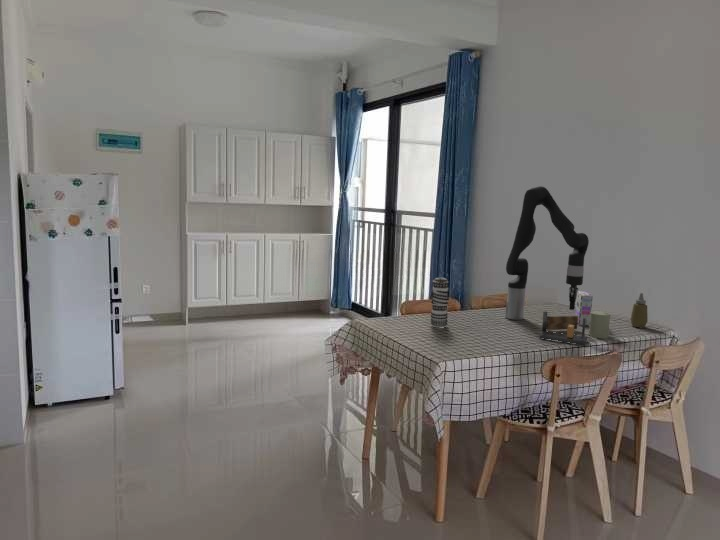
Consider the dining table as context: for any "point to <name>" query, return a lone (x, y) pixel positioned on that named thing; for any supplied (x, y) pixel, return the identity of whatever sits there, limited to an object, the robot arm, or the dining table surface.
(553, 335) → the console
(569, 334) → the fader
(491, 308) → the dining table surface
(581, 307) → the candy box
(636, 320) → the squeeze bottle
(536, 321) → the dining table surface
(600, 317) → the can
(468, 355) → the dining table surface
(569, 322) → the door
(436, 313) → the decorative candle
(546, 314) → the frame
